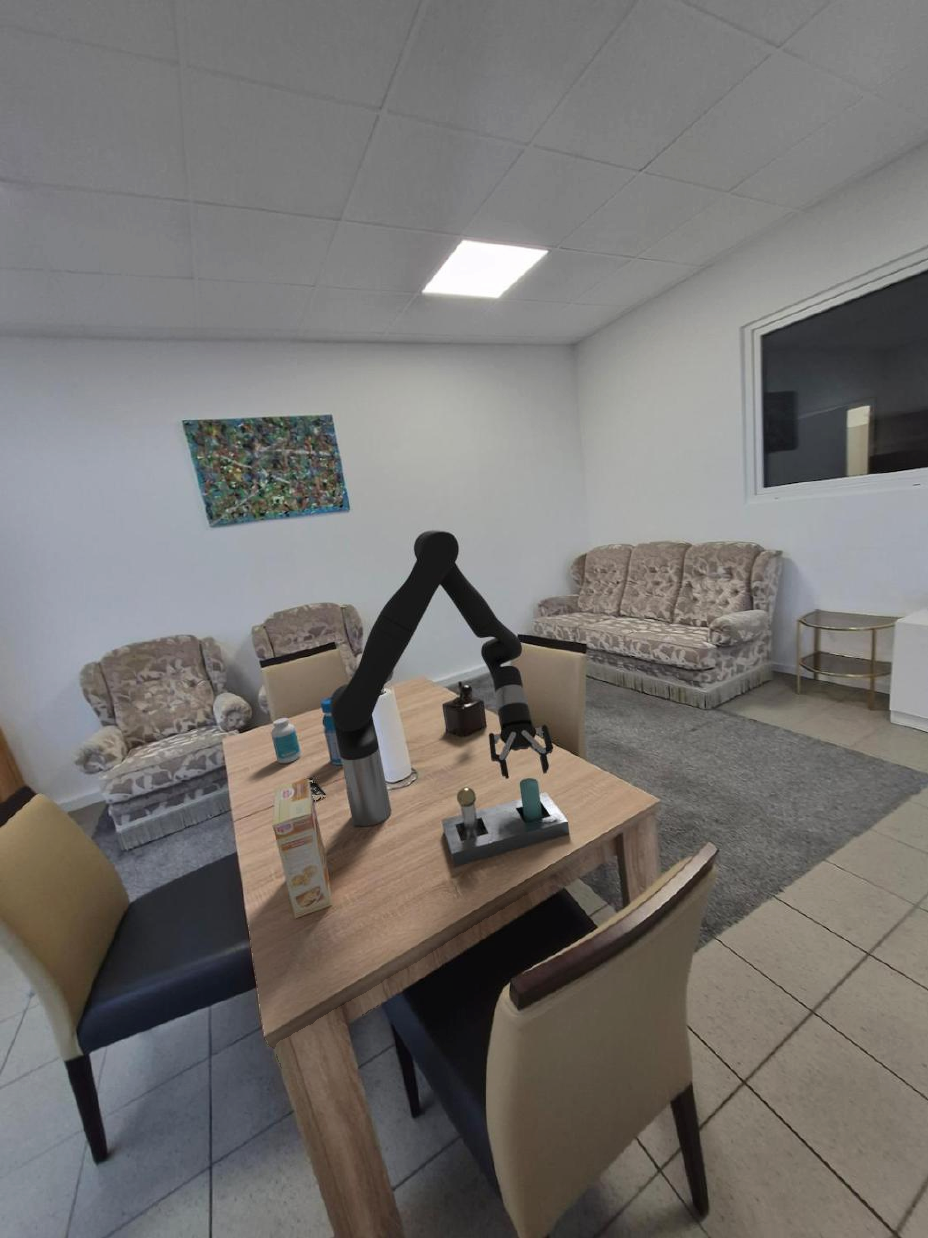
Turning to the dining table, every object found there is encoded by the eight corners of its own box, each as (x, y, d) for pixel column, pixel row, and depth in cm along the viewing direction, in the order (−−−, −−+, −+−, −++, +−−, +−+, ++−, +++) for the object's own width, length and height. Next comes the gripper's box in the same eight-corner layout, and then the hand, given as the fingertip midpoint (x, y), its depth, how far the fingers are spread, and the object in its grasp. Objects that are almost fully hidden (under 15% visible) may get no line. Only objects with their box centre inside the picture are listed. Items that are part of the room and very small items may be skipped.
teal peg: (528, 832, 103) (523, 790, 101) (522, 821, 106) (517, 780, 105) (545, 827, 103) (540, 785, 102) (539, 817, 107) (534, 776, 105)
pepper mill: (443, 730, 161) (435, 680, 158) (468, 719, 168) (461, 670, 164) (472, 742, 149) (464, 688, 146) (498, 730, 156) (491, 677, 152)
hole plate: (454, 866, 95) (444, 811, 93) (443, 831, 107) (435, 781, 105) (569, 834, 100) (563, 780, 98) (547, 803, 112) (541, 754, 109)
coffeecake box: (333, 906, 90) (311, 813, 86) (293, 920, 88) (270, 826, 84) (328, 858, 104) (309, 777, 100) (294, 870, 102) (274, 787, 98)
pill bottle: (306, 755, 158) (297, 717, 156) (287, 765, 152) (278, 726, 150) (291, 752, 162) (283, 714, 160) (273, 762, 156) (263, 724, 154)
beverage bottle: (337, 768, 145) (324, 707, 141) (325, 761, 151) (313, 702, 148) (362, 757, 150) (350, 697, 147) (349, 750, 157) (337, 693, 153)
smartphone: (311, 777, 142) (327, 795, 129) (311, 779, 142) (328, 798, 129) (285, 787, 138) (300, 807, 125) (286, 789, 138) (301, 810, 125)
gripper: (483, 706, 112) (494, 775, 103) (543, 697, 112) (559, 765, 103) (484, 718, 118) (494, 784, 109) (541, 709, 118) (556, 775, 109)
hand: (526, 775), depth 106 cm, fingers open, 8 cm apart
